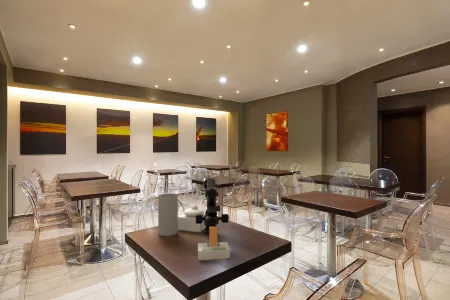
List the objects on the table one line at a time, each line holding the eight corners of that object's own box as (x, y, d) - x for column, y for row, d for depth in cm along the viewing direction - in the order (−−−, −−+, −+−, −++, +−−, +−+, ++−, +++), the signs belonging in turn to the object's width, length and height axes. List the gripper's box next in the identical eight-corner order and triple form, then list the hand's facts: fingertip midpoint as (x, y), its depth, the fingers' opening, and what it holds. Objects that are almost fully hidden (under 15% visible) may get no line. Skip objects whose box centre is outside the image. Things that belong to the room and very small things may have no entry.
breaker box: (198, 251, 129) (198, 240, 129) (227, 250, 131) (227, 239, 130) (198, 260, 119) (198, 248, 119) (229, 258, 121) (229, 247, 121)
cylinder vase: (168, 238, 148) (168, 198, 148) (154, 234, 154) (154, 195, 154) (181, 232, 159) (181, 194, 158) (168, 228, 165) (168, 192, 165)
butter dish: (176, 230, 163) (176, 206, 163) (188, 222, 180) (188, 201, 180) (200, 232, 158) (200, 208, 158) (210, 224, 175) (210, 202, 175)
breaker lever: (209, 243, 127) (209, 226, 127) (216, 243, 127) (216, 226, 127) (209, 244, 125) (209, 227, 125) (217, 244, 126) (217, 227, 126)
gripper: (195, 200, 134) (195, 226, 123) (228, 199, 136) (231, 225, 125) (195, 211, 142) (195, 236, 131) (226, 210, 144) (229, 234, 133)
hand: (212, 233), depth 130 cm, fingers closed
